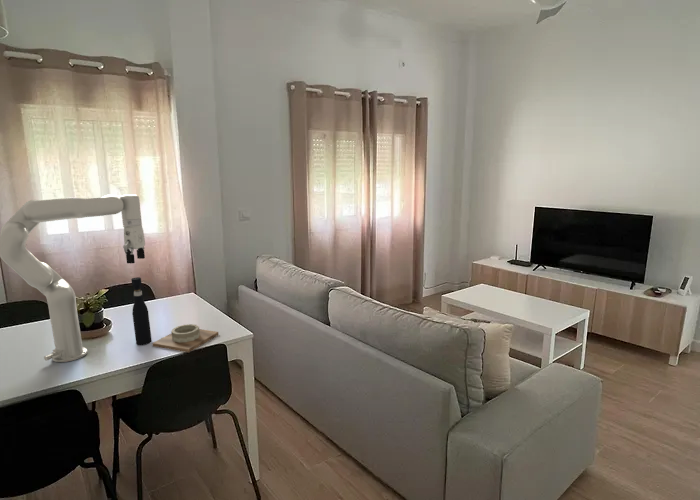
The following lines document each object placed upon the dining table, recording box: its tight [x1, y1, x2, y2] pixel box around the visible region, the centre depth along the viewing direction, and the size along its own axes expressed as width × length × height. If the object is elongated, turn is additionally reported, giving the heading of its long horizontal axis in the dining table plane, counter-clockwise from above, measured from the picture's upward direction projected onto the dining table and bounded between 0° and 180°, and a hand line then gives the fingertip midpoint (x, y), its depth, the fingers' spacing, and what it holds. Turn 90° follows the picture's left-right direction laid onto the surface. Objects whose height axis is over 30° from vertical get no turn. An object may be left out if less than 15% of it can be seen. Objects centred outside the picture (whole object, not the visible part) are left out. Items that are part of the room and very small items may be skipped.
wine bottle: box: [130, 276, 153, 346], centre depth 193 cm, size 6×6×30 cm
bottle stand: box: [152, 323, 219, 353], centre depth 197 cm, size 20×20×6 cm
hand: (136, 260), depth 195 cm, fingers open, 9 cm apart
